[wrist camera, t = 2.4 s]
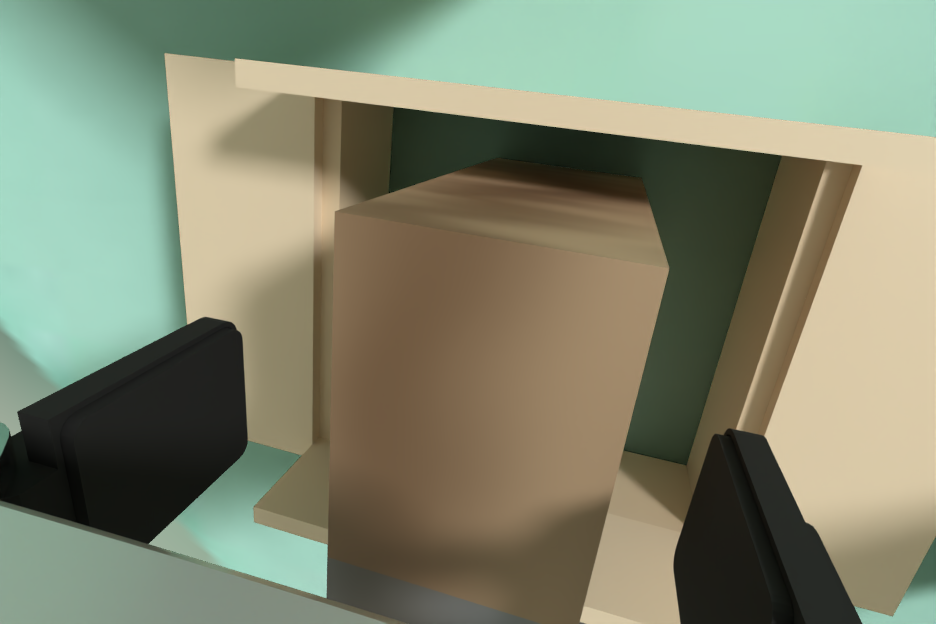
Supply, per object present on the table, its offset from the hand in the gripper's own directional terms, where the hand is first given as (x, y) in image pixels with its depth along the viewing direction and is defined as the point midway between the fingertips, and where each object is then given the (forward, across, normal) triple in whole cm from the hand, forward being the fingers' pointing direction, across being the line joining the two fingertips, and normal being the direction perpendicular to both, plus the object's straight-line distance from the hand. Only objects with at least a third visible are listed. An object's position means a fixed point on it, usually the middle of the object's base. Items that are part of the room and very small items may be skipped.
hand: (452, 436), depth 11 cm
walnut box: (+11, -1, 0) cm, 11 cm away
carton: (+11, -1, 0) cm, 11 cm away
